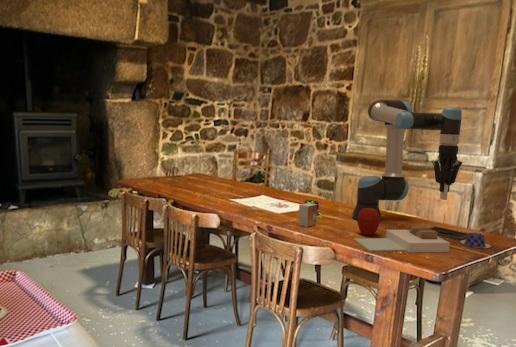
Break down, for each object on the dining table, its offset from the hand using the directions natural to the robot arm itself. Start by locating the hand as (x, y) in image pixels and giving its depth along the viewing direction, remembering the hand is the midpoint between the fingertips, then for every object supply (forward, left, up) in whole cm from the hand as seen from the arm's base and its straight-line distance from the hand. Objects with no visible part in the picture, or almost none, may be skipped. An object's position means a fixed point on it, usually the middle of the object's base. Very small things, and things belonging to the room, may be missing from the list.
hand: (443, 199), depth 172 cm
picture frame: (-16, +15, -21) cm, 30 cm away
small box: (-34, -50, -21) cm, 64 cm away
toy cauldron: (-56, -42, -21) cm, 73 cm away
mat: (0, -28, -20) cm, 35 cm away
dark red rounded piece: (-16, -26, -20) cm, 37 cm away
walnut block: (0, -8, -16) cm, 18 cm away
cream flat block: (0, -11, -20) cm, 23 cm away
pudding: (+1, +17, -21) cm, 27 cm away
